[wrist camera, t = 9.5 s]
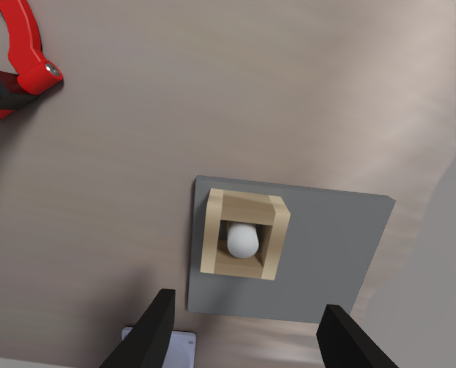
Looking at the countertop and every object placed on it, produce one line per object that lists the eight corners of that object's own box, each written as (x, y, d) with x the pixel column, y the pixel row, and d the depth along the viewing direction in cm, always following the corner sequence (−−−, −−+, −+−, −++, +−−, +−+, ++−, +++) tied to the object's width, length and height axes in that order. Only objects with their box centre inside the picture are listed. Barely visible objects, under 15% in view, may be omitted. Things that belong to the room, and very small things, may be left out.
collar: (267, 254, 19) (274, 280, 16) (204, 247, 19) (200, 272, 16) (280, 196, 17) (290, 214, 14) (211, 188, 17) (207, 204, 14)
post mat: (340, 317, 23) (361, 358, 19) (189, 303, 22) (180, 342, 18) (387, 195, 18) (428, 218, 14) (197, 175, 18) (188, 193, 14)
